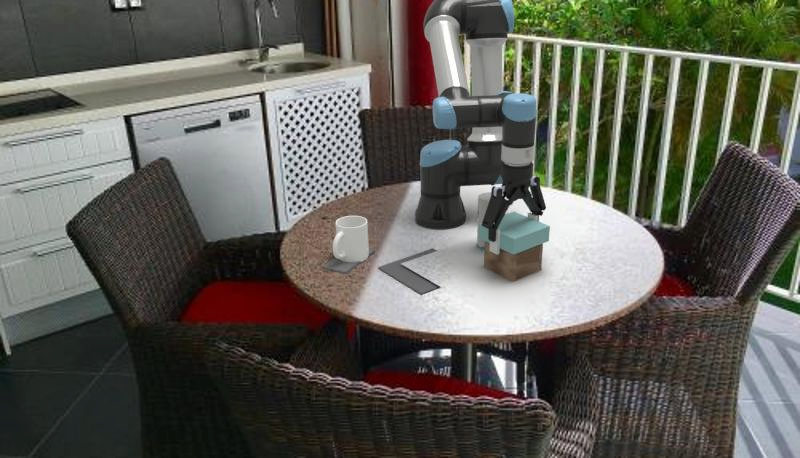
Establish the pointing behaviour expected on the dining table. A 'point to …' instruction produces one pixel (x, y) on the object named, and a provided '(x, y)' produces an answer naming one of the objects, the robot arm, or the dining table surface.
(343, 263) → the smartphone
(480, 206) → the printed grey cylinder
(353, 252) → the mug
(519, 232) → the lid
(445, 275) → the dining table surface
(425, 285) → the mat
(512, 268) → the box
